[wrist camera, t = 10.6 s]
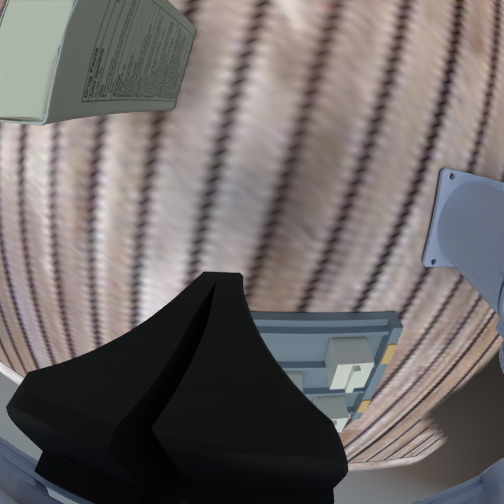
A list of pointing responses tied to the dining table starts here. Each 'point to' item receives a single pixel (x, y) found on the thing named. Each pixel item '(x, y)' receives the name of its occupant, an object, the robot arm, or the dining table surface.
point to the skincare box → (90, 58)
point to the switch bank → (316, 343)
